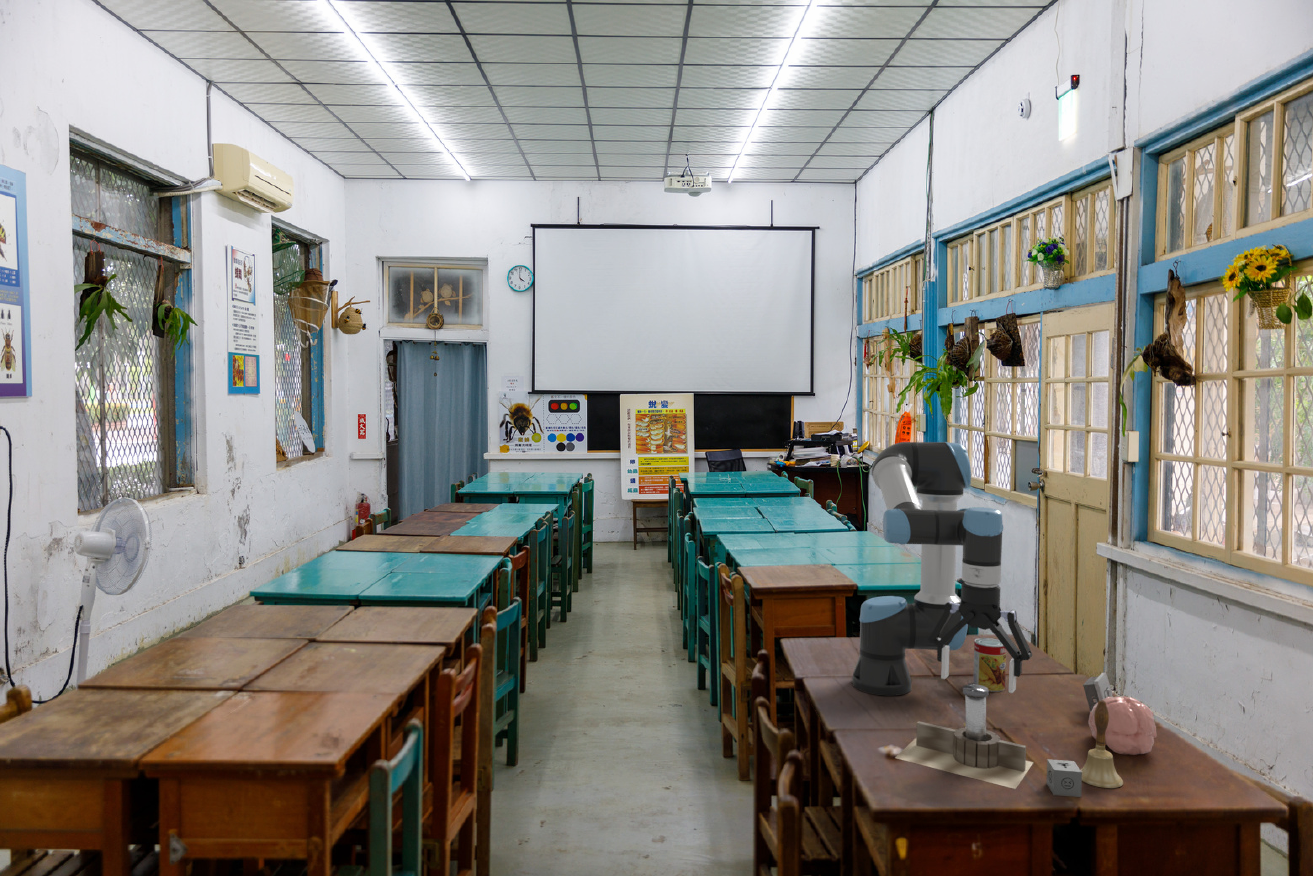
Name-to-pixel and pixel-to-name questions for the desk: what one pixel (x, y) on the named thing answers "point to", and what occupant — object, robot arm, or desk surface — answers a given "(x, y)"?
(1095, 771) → the hand bell
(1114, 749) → the brain
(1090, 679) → the electrical switch
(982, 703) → the pin
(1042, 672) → the desk surface
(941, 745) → the hinge board
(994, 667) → the canned food
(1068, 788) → the dice cube
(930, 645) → the robot arm
